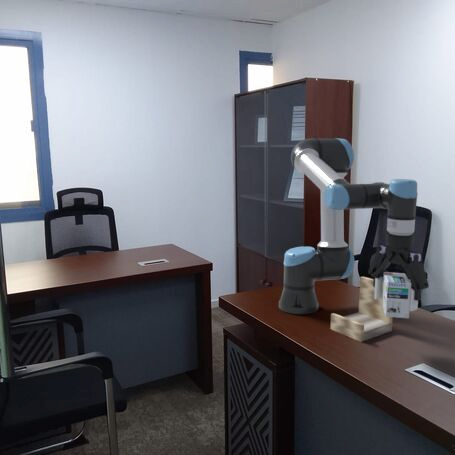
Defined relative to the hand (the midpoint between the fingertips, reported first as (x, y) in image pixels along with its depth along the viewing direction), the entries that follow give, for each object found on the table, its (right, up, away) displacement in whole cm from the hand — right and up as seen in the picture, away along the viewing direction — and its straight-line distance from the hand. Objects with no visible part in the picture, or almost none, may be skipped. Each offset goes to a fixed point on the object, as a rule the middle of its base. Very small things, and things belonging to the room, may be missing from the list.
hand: (395, 303), depth 137 cm
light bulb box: (0, -3, 0) cm, 3 cm away
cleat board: (-5, -12, +18) cm, 22 cm away
